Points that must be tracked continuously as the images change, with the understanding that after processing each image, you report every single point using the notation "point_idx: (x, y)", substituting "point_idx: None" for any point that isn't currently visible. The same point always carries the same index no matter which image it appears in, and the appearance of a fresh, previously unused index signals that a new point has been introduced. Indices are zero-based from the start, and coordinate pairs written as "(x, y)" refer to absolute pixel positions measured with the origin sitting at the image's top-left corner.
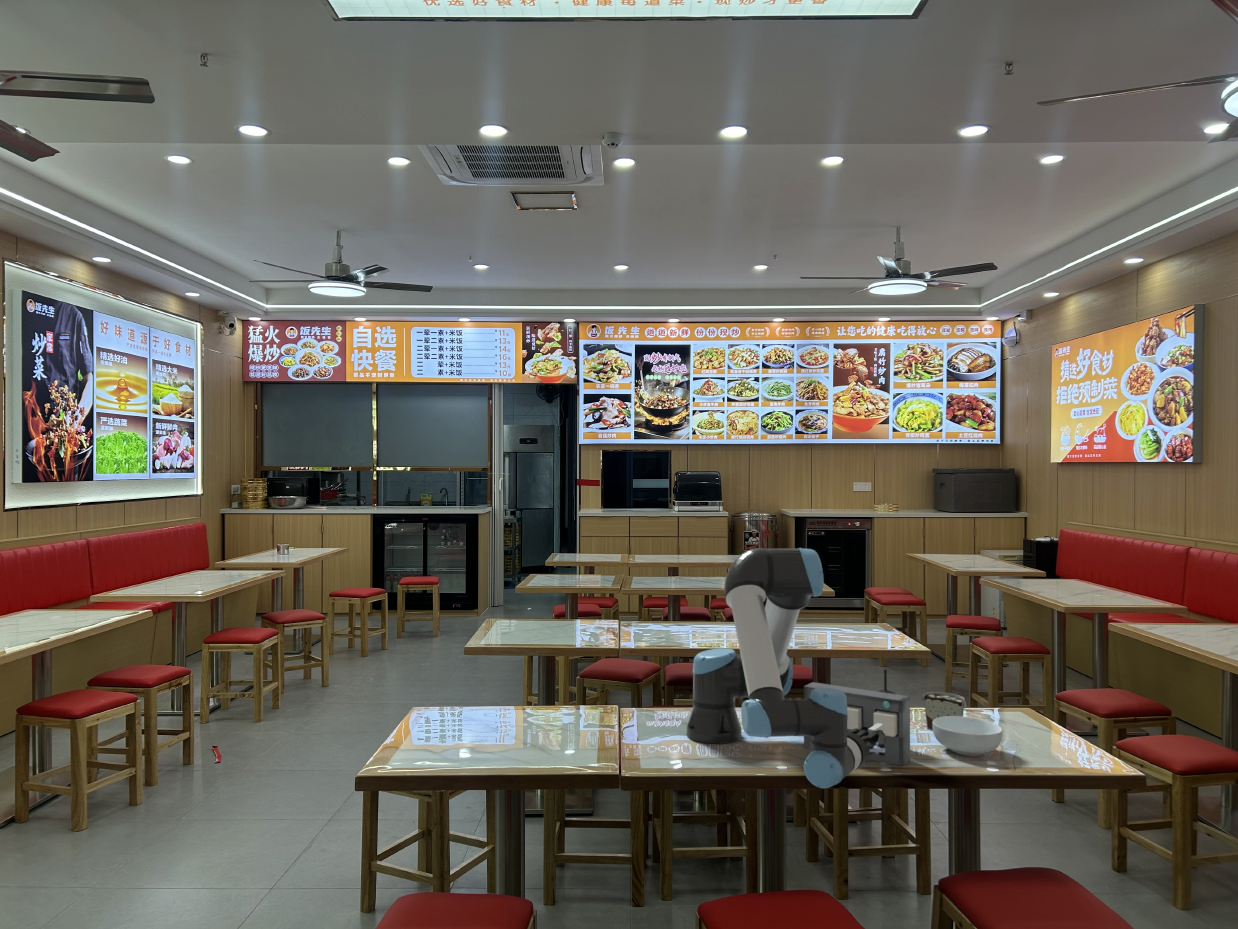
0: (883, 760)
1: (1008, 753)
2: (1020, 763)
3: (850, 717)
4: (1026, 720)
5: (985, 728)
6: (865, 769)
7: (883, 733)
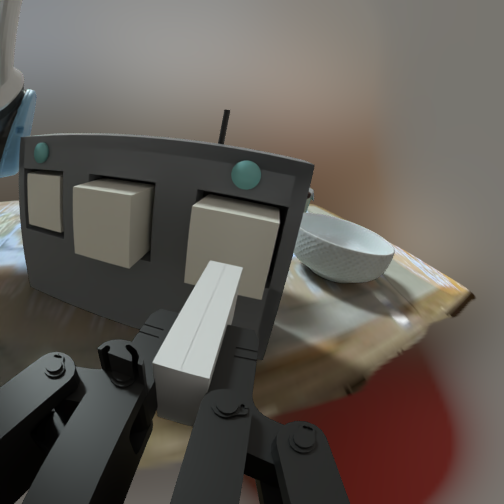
0: None
1: None
2: (404, 291)
3: (106, 221)
4: (329, 215)
5: (349, 233)
6: None
7: (314, 441)
